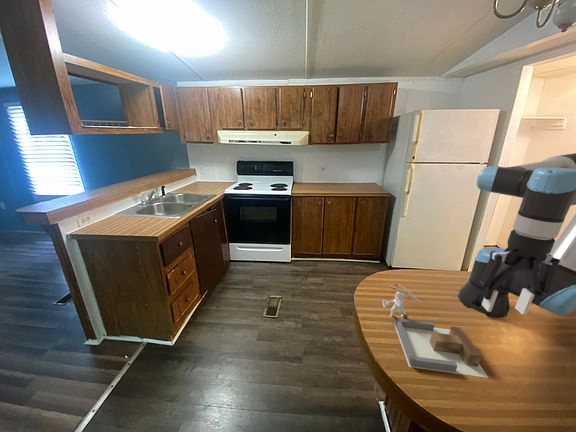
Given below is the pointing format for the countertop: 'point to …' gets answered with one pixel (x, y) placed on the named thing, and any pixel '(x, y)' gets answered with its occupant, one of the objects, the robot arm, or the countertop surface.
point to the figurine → (396, 304)
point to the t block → (456, 345)
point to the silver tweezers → (405, 293)
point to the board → (430, 349)
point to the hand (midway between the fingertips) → (503, 309)
